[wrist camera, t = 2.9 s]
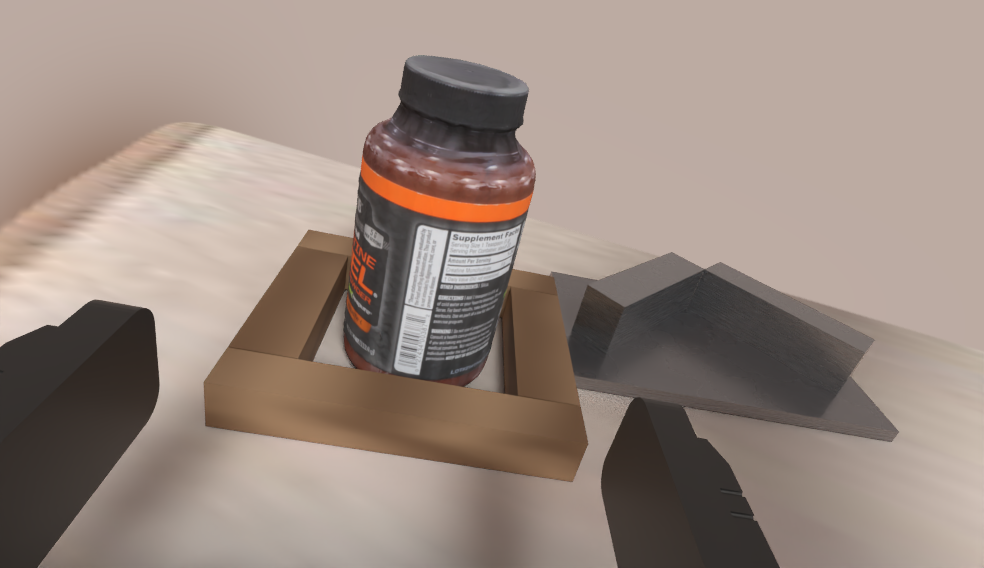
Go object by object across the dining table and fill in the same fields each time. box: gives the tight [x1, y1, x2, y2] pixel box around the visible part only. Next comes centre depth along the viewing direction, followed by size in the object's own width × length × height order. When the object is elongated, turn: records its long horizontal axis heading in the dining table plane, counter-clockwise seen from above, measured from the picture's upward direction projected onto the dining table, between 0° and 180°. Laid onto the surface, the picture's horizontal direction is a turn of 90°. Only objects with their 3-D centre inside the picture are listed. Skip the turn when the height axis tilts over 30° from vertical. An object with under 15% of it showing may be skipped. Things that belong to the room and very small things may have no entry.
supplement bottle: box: [344, 55, 536, 387], centre depth 20 cm, size 6×6×11 cm
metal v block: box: [550, 252, 899, 442], centre depth 27 cm, size 15×9×3 cm, turn 90°
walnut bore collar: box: [204, 230, 588, 482], centre depth 23 cm, size 12×11×2 cm
